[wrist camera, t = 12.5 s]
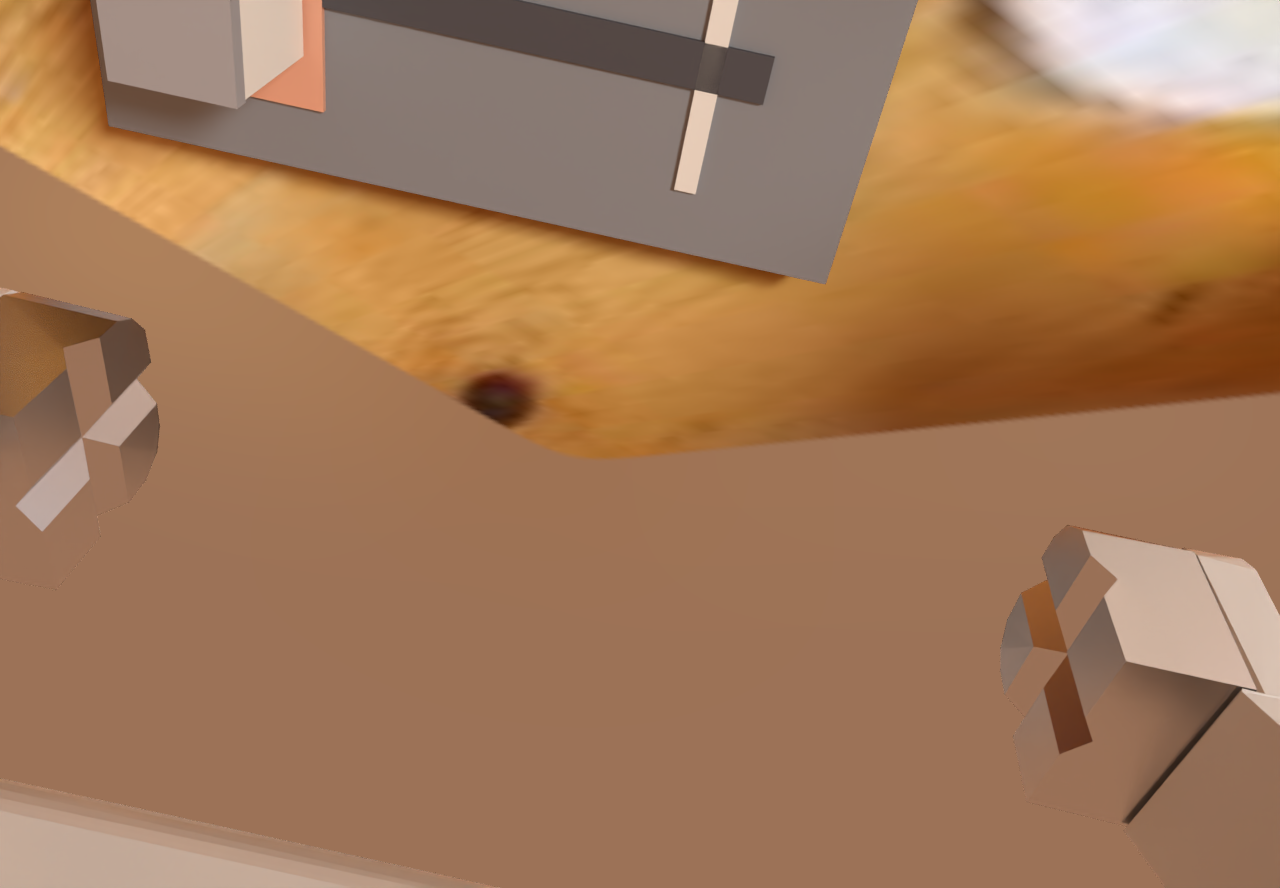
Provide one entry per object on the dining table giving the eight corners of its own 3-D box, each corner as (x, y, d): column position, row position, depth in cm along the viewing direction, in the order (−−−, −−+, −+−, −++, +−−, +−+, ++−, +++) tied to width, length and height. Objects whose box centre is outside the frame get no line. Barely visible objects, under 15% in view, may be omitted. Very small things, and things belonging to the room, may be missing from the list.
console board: (948, -136, 33) (958, -122, 30) (824, 255, 41) (825, 287, 39) (88, -327, 33) (37, -327, 30) (142, 104, 41) (105, 128, 39)
